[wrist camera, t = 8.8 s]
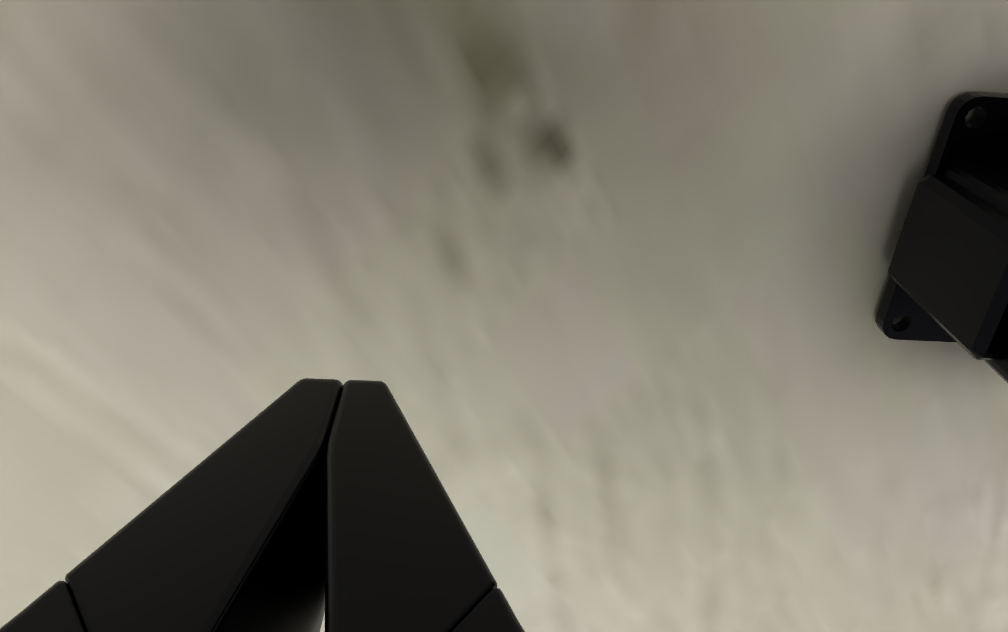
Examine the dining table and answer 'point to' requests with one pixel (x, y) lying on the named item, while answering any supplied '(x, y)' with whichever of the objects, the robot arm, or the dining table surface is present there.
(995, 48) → the dining table surface
